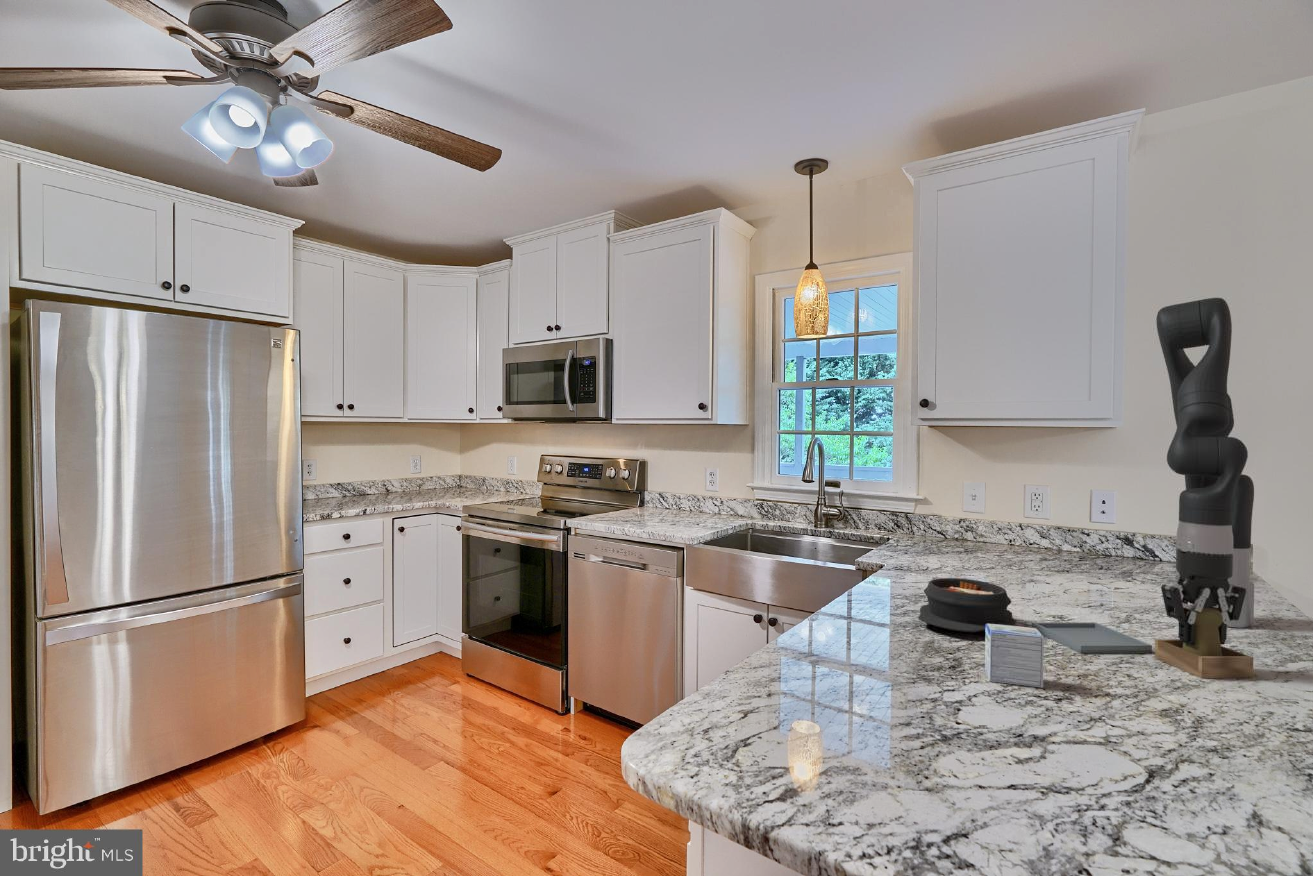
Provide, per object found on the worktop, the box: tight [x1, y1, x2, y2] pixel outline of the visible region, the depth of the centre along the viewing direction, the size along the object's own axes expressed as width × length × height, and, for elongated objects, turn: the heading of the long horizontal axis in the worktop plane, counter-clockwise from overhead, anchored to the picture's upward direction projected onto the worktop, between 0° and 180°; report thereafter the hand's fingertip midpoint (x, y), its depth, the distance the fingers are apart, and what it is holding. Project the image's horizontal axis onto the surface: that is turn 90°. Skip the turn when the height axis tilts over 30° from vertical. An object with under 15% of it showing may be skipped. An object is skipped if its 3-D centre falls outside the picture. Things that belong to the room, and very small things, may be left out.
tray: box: [1031, 621, 1153, 655], centre depth 122 cm, size 14×14×2 cm
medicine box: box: [984, 624, 1045, 688], centre depth 101 cm, size 8×4×9 cm, turn 71°
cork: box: [1182, 604, 1223, 656], centre depth 108 cm, size 6×6×11 cm
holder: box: [1154, 638, 1254, 679], centre depth 108 cm, size 9×9×4 cm
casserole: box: [918, 577, 1016, 633], centre depth 132 cm, size 25×19×8 cm
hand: (1202, 642), depth 108 cm, fingers closed on cork, 5 cm apart
